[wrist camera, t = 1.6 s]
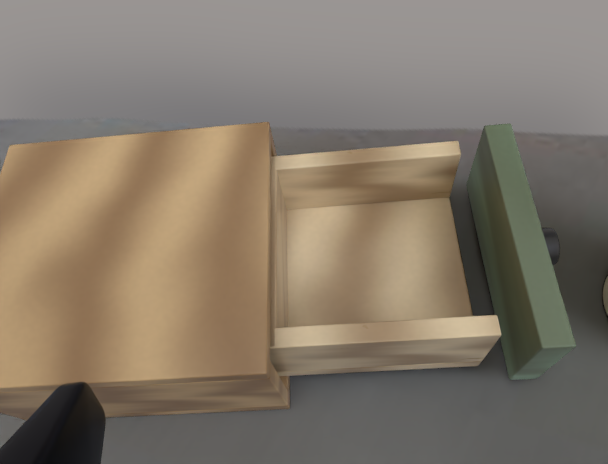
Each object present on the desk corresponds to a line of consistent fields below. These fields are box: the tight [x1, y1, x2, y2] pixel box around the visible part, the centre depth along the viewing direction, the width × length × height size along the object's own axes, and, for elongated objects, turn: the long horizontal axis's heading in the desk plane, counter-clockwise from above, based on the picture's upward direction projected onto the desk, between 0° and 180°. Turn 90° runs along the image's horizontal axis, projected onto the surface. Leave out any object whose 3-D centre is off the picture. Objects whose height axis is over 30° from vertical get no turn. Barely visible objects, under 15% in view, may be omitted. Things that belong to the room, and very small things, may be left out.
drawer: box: [270, 124, 576, 380], centre depth 23 cm, size 13×10×5 cm
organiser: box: [0, 122, 290, 420], centre depth 24 cm, size 12×11×6 cm
